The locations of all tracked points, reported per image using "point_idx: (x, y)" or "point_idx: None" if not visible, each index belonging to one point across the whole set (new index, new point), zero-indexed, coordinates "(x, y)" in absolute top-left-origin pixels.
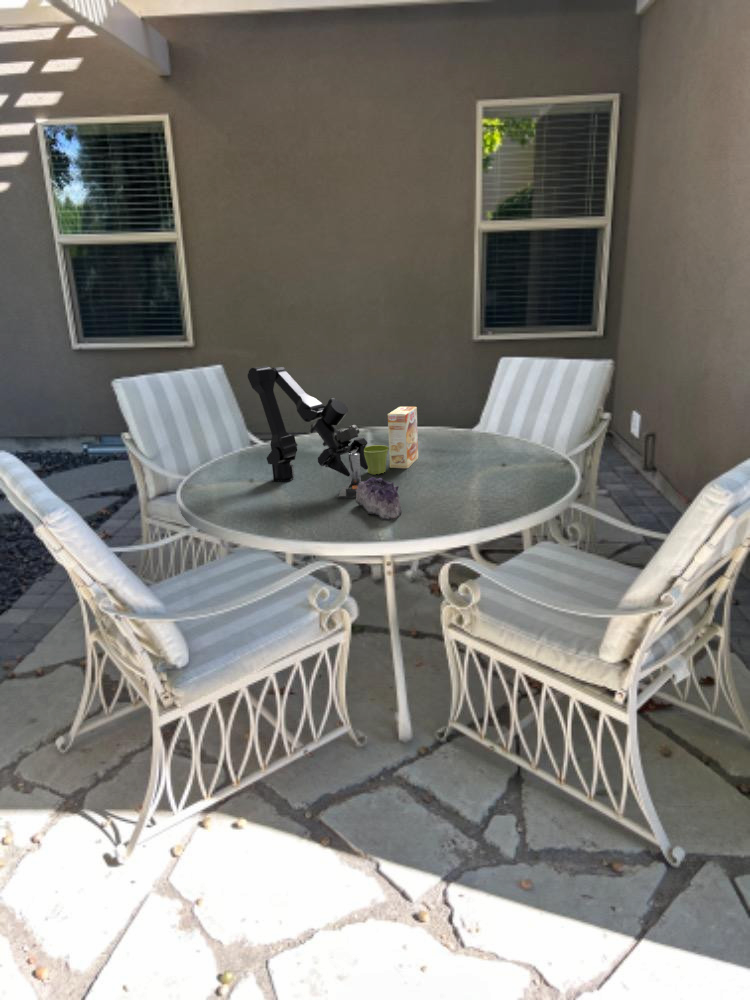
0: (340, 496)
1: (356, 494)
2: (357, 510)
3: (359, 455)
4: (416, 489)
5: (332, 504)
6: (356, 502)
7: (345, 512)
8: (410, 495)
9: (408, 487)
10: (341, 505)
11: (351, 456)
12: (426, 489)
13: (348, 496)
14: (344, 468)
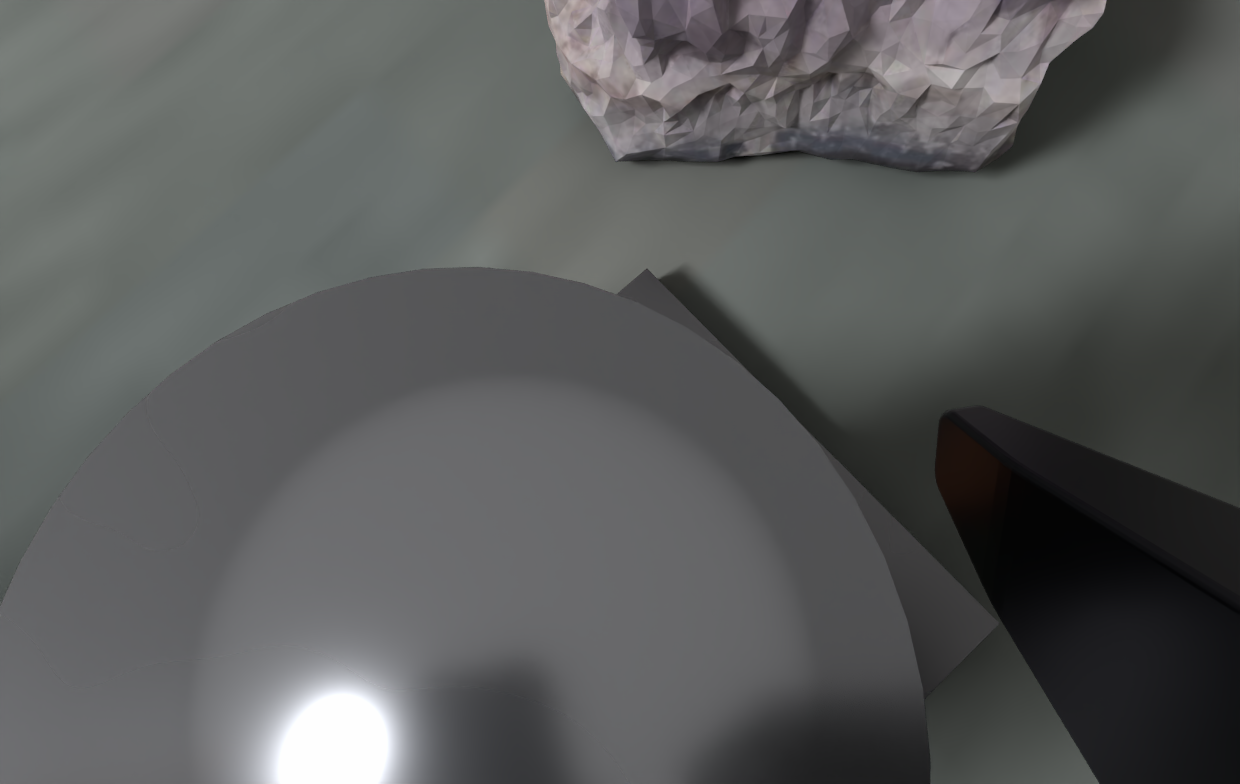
0: (969, 597)
1: (1040, 83)
2: (1071, 50)
3: (243, 404)
4: (69, 122)
5: (1205, 472)
6: (997, 152)
7: (1233, 94)
8: (287, 19)
9: (44, 245)
10: (1124, 338)
11: (853, 543)
12: (19, 45)
13: (873, 499)
14: (1206, 498)
